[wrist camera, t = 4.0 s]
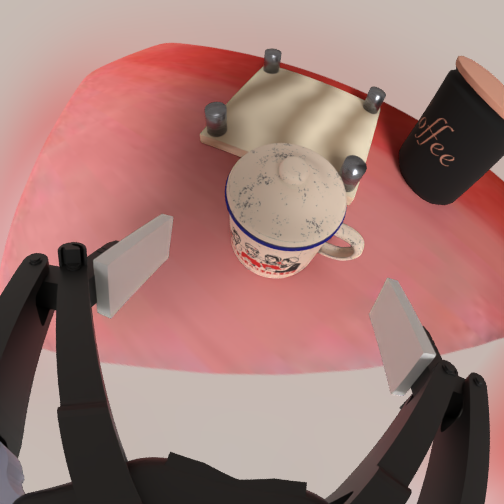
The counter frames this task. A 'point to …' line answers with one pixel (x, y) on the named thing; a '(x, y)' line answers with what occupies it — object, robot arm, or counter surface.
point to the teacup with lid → (287, 210)
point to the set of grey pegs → (217, 111)
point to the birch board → (296, 119)
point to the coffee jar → (456, 135)
